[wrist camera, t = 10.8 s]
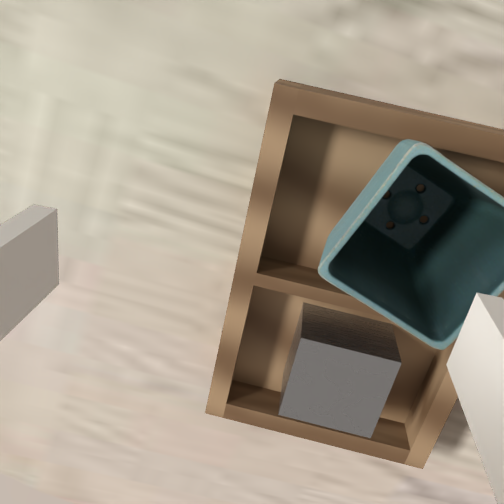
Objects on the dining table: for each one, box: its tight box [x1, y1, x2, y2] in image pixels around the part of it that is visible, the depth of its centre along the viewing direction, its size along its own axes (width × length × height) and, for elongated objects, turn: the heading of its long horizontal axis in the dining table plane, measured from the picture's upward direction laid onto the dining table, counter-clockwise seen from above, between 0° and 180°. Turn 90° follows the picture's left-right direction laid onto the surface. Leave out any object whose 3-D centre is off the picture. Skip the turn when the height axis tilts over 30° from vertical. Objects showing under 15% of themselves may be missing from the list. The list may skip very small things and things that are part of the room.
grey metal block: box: [278, 302, 402, 438], centre depth 36 cm, size 7×7×5 cm
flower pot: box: [318, 139, 504, 350], centre depth 29 cm, size 9×9×9 cm
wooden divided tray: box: [205, 79, 504, 469], centre depth 35 cm, size 26×18×4 cm
